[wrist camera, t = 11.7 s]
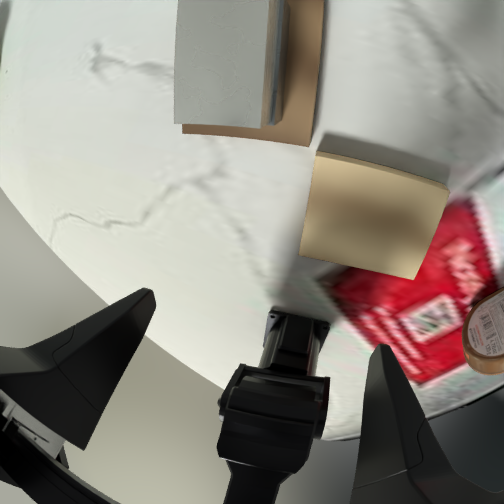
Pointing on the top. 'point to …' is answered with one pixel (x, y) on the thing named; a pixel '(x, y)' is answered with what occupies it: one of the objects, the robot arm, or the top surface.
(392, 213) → the oak stand
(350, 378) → the top surface
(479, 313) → the tin
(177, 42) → the block
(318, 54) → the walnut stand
